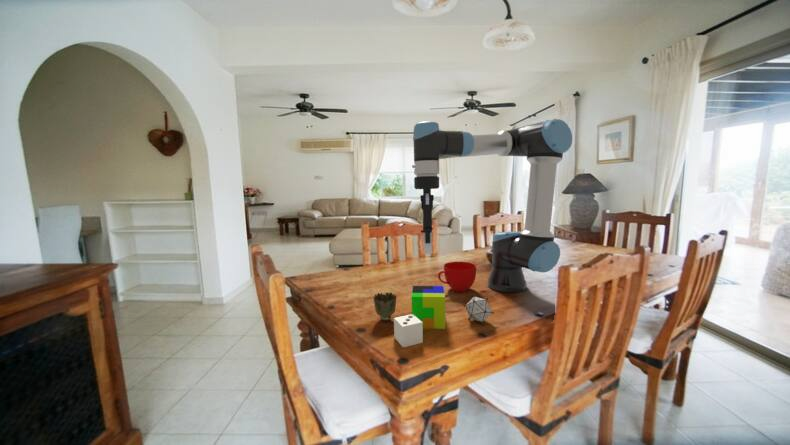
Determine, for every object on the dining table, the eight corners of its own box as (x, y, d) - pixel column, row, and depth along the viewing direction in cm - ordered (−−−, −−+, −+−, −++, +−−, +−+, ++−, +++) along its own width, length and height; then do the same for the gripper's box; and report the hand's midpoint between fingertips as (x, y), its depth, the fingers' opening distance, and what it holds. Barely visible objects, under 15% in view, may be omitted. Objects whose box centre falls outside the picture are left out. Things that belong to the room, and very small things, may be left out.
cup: (396, 314, 104) (396, 291, 103) (397, 324, 96) (396, 299, 95) (374, 315, 104) (373, 292, 103) (373, 325, 96) (373, 300, 95)
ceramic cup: (429, 288, 128) (429, 265, 127) (462, 282, 135) (463, 260, 134) (447, 298, 116) (447, 273, 115) (482, 291, 123) (483, 267, 122)
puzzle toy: (443, 314, 103) (443, 286, 101) (445, 328, 93) (445, 297, 92) (413, 314, 104) (413, 285, 102) (412, 328, 94) (411, 296, 93)
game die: (477, 335, 96) (467, 317, 91) (465, 315, 103) (454, 297, 98) (502, 320, 96) (493, 301, 90) (488, 301, 103) (479, 283, 98)
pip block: (413, 333, 91) (412, 313, 90) (422, 342, 85) (422, 321, 84) (394, 337, 88) (393, 317, 88) (403, 347, 83) (402, 326, 82)
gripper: (414, 176, 102) (416, 245, 105) (413, 175, 84) (414, 258, 87) (437, 176, 101) (438, 245, 104) (441, 174, 83) (441, 258, 86)
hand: (427, 251), depth 95 cm, fingers open, 5 cm apart
